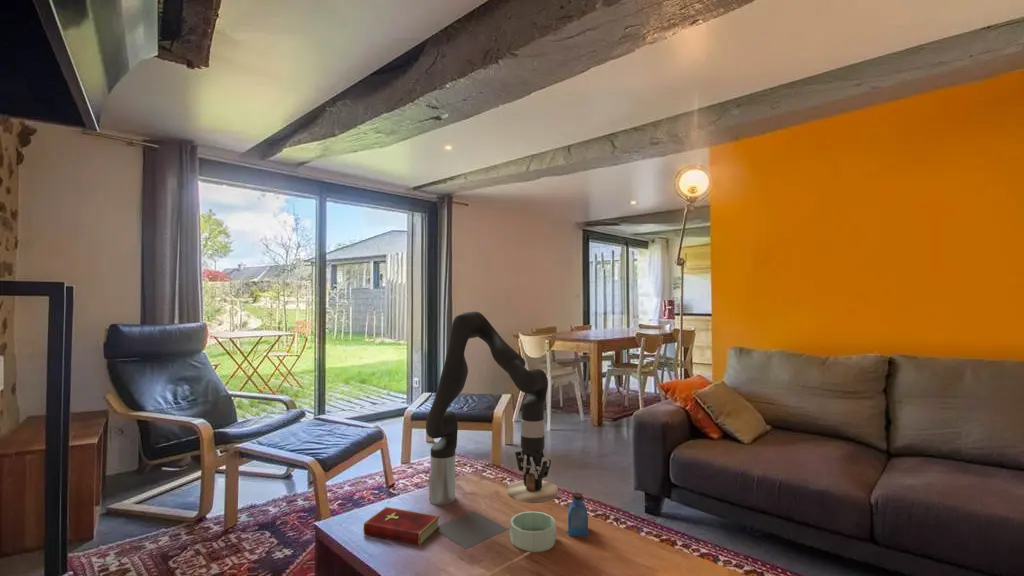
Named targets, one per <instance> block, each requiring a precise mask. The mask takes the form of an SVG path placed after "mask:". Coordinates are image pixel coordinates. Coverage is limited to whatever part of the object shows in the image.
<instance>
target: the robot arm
mask: <svg viewBox="0 0 1024 576" xmlns="http://www.w3.org/2000/svg"><path fill="white" fill-rule="evenodd" d="M475 338H478V339H481V340H482V341H483V342H484V343H486V345H487V346H488V347H489V350H490V353H491V355H492V358H493V360H494V362H496V364H497V365H498V366H500V367H501V369H503V370H504V371H505V372H506V373H507V374H508V375H509V377H510V379H511V381H512V382H513V384H514V385H515V386H516V388H517V389H518V390H519V391H520V392H522V393H524V394H528V395H527V397H526V399H524V400H523V401H522V403H521V423H520V448H521V450H519V451H515V452H514V454H515V459H516V463H517V464H516V465H517V468H518V471H519V472H522V474H523V480H524V486H526V474H527V473H531V472H534V474H535V478H536V479H535V490H536V491H539V490H541V488H542V480H543V479H544V478H547V477H548V475H549V472H550V467H551V464H552V460H551V459H550V458H548V459H547V458H546V457H545V454H544V450H545V446H546V445H545V442H546V441H545V437H546V436H545V434H546V432H545V419H544V417H545V416H544V415H545V414H544V413H545V412H544V411H545V410H544V409H545V408H544V405H545V401H546V397H547V393H548V388H549V379H548V376H547V373H546V372H545V370H542V369H541V368H534V369H530V370H528V369H527V368H526V360H525V358H523V356H522V355H520V354H519V353H518V352H517V351H516V350H515V349H514V348H512V347H511V346H510V345H509V343H507V342H506V340H504V338H502V336H501V335H500V334H499V332H498V331H497V330H496V329H495V328H494V326H493V325H492V324H491V322H489V320H488V319H487V318H486V317H485V316H484V315H483V313H481V312H480V311H469V312H466V311H465V312H461V313H459V314H457V315H455V316H454V319H453V321H452V324H451V329H450V335H449V341H448V347H447V351H446V352H447V353H446V355H445V360H444V364H443V367H442V371H441V375H440V377H439V383H438V386H437V390H436V392H435V393H436V394H435V397H434V399H433V402H432V404H431V407H430V410H429V412H428V415H427V417H426V423H425V430H426V434H427V435H428V438H431V439H439V440H438V441H437V442H436V443H434V444H433V445H432V446H431V448H430V473H429V474H428V475H429V478H428V479H429V481H428V482H429V484H428V485H429V486H428V488H429V489H428V490H429V492H428V496H429V498H428V499H429V500H430V501H429V502H430V503H431V504H432V505H435V506H436V505H440V506H441V505H448V504H452V503H453V502H454V501H456V450H457V446H458V431H459V430H458V429H459V425H458V424H459V423H458V418H457V414H456V413H455V412H454V411H453V410H448V408H449V407H450V406H451V404H452V403H453V402H454V401H455V400H456V398H457V397H459V396H460V394H461V392H462V391H463V390H464V388H465V385H466V381H467V379H468V374H469V368H468V363H467V360H466V358H465V357H466V356H465V350H466V346H467V344H468V341H469V340H470V339H475ZM531 470H532V471H531Z"/></svg>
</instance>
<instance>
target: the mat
mask: <svg viewBox="0 0 1024 576" xmlns="http://www.w3.org/2000/svg"><path fill="white" fill-rule="evenodd" d="M438 527H440V528H439V529H438V530H437V531H436V533H439V534H440V535H442V536H444V538H447V539H448V540H450V541H451V542H453V543H454V544H456V545H458V546H460V547H462V548H463V549H465V550H467V549H469V548H471V547H473V546H475V545H477V544H479V543H482V542H484V541H486V540H489V539H491V538H492V537H495V536H498V534H499V535H500V534H501V533H504V532H506V531H508V530H509V528H508V527H506V526H504V525H502V524H500V523H498V522H496V521H494V520H492V519H490V518H488V517H486V516H484V515H482V514H481V513H479V512H477V511H475V510H473V511H471V512H468V513H466V514H463V515H461V516H459V517H456V518H453V519H450V520H448V521H446V522H443V523H441V524H438Z"/></svg>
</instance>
